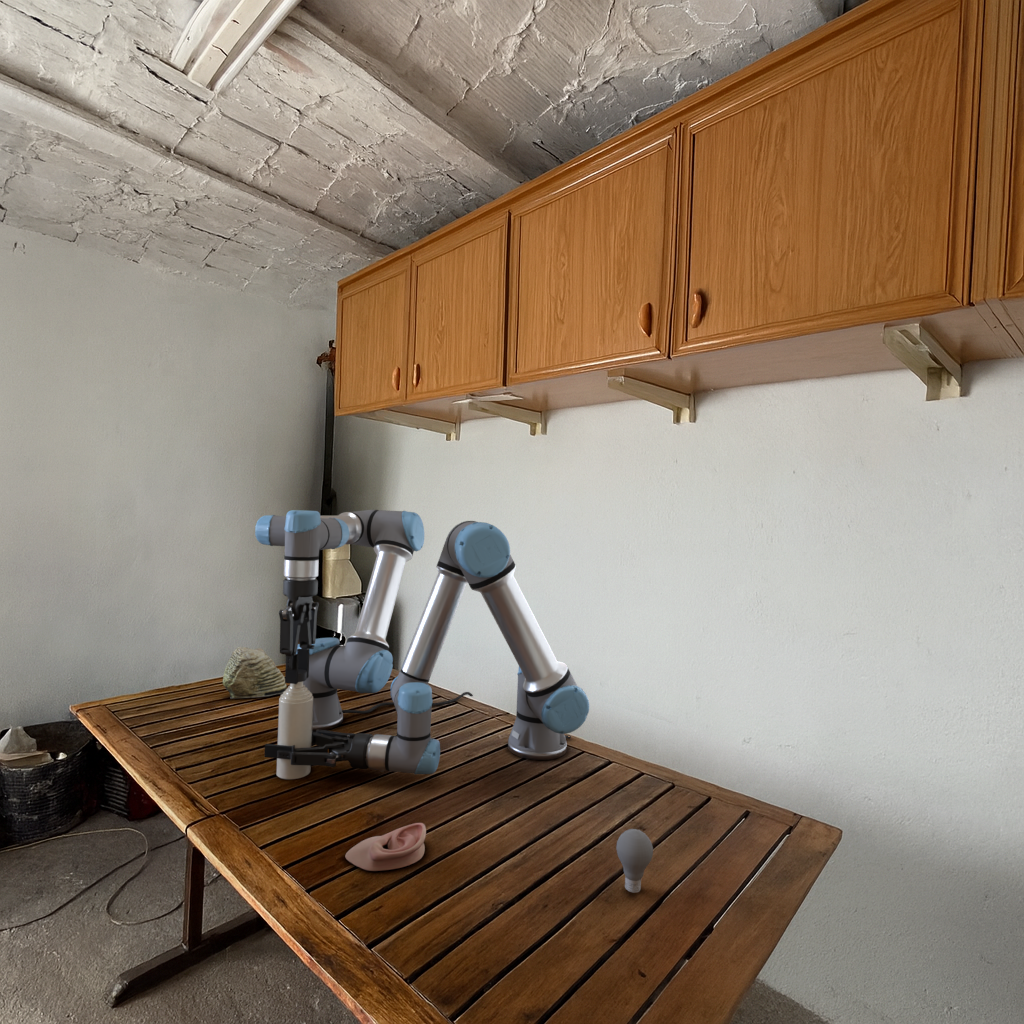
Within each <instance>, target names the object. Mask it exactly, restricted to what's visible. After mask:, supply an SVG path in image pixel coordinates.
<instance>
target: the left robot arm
mask: <svg viewBox="0 0 1024 1024" xmlns="http://www.w3.org/2000/svg"><path fill="white" fill-rule="evenodd" d="M254 528H255V531H254V535H255V538H256V540H257V541H258V543H260V545H265V546H270V547H284V557H283V558H284V560H283V577H285V578H284V579H283V581H282V594H283V596H284V597H287V601H286V608H284V609H279V611H278V616H279V654H281V655H285V672H284V675H285V676H284V677H285V683H286V684H290V683H291V684H297V683H298V669H303V670H306V671H307V679H306V680H305V681H304V683H303V685H305V687H306V688H307V689H308V690H309V691H310V692H311V693H312V696H313V721H312V732H316V730H318V729H320V730H327V731H330V730H332V729H335V728H337V727H339V726H340V725H342V723H343V722H344V714H360V715H362V714H363V715H364V714H369V713H372V712H373V711H374V710H376V709H378V708H380V707H385V706H395V705H394V702H393V701H390V702H389V701H388V702H387V701H386V702H381V703H378V704H377V703H376V704H375V705H373V706H372V707H371V708H369V709H367V710H366V709H365V710H360V709H359V710H358V709H342V706H341V702H340V699H339V695H338V690H341V691H349V692H356V693H359V694H376V693H378V692H380V691H381V690H382V689H383V688H384V687H385V685H386V684H387V683H388V681H389V679H390V677H391V675H392V671H393V668H394V667H393V666H394V664H393V661H394V657H393V654H392V652H390V651H389V649H390V645H389V643H388V642H387V636H388V631H389V628H390V623H391V619H392V616H393V612H394V608H395V604H396V602H397V597H398V593H399V589H400V585H401V582H402V578H403V573H404V570H405V566H406V563H407V562H409V561H411V560H412V559H413V556H414V552H419V551H421V550H422V549H423V546H424V543H425V527H424V522H423V520H422V517H421V516H420V515H419V514H418V513H417V512H414V511H408V510H386V509H384V510H383V509H364V510H355V511H343V512H341V513H339V514H337V515H321V513H320V512H319V511H318V510H305V509H303V510H302V509H301V510H300V509H293V510H292V509H291V510H289V511H287V512H286V515H276V514H269V515H268V514H266V515H263V516H261V517H259V518H258V519H257V521H256V524H255V526H254ZM345 545H353V546H360V547H365V548H373V551H374V553H375V554H376V558H375V561H374V564H373V568H372V572H371V575H370V579H369V582H368V585H367V589H366V592H365V596H364V600H363V605H362V607H361V611H360V613H359V618H358V620H357V625H356V628H355V632H354V633H353V634H351V635H350V636H348V637H347V639H346V643H345V645H340V644H341V643H340V642H341V641H340V639H339V638H337V637H320V638H319V637H318V638H317V622H318V621H317V620H318V619H317V618H318V610H319V605H320V604H319V602H318V601H314V600H313V597H315V596H317V595H318V592H319V591H318V590H319V589H318V587H319V580H318V579H317V577H319V564H320V563H319V560H320V559H319V558H320V551H323V550H335V549H339V548H342V547H343V546H345ZM465 696H469V697H474V694H473V693H471V691H463V692H462V693H461V694H459V695H458V696H457V697H455V698H451V699H448V700H444V701H439V702H433V703H432V707H438V706H443V705H448V704H450V703H454V702H457V701H459V700H460V699H462V698H463V697H465Z"/></svg>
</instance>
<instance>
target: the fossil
mask: <svg viewBox="0 0 1024 1024" xmlns="http://www.w3.org/2000/svg"><path fill="white" fill-rule="evenodd" d="M222 676H223V677H222V685H223V687H224V688H225V690H226V691H228V693H229V698H230V699H250V698H264V697H271V696H275V695H281V694H283V692H284V691H286V689H287V688H288V686H287V683H285V676H284V674H283V673H282V672H281V669H279V668H278V667H277V665H276V663H275V662H274V660H273V659H272V658H271V657H270V656H269V655H268V654H267V653H266V652H265V650H264V649H263V648H260V647H258V648H251V647H247V646H246V647H245V646H238V647H237V648H236V649H235V650H233V651H232V653H231V656H230V657H229V659H228V660H227V663H226V666H225V668H224V671H223V675H222Z"/></svg>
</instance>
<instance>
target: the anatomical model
mask: <svg viewBox="0 0 1024 1024" xmlns="http://www.w3.org/2000/svg"><path fill="white" fill-rule="evenodd" d="M426 837H427V827H426V824H425V823H423V822H415V823H412V824H408V825H404V826H402V827H399V828H396V829H394V830H392V831H390V832H388V833H384V834H382V835H375V836H372V837H367V838H365V839H364V840H361V841H360V842H358V843H357V844H356V845H353V847H351V848H350V849H349V850H348V851H347V852H346V853H345V856H344V857H345V860H347V862H349V863H350V864H352V865H354V866H356V867H357V868H360V869H362V870H364V871H367V872H378V871H380V872H381V871H389V870H396V869H400V868H404V867H407V866H410V865H412V864H415V863H417V862H418V861H420V860H421V859H422V858H423V857H424V854H425V851H426V849H425V848H426V846H425V843H424V842H425V840H426Z"/></svg>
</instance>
